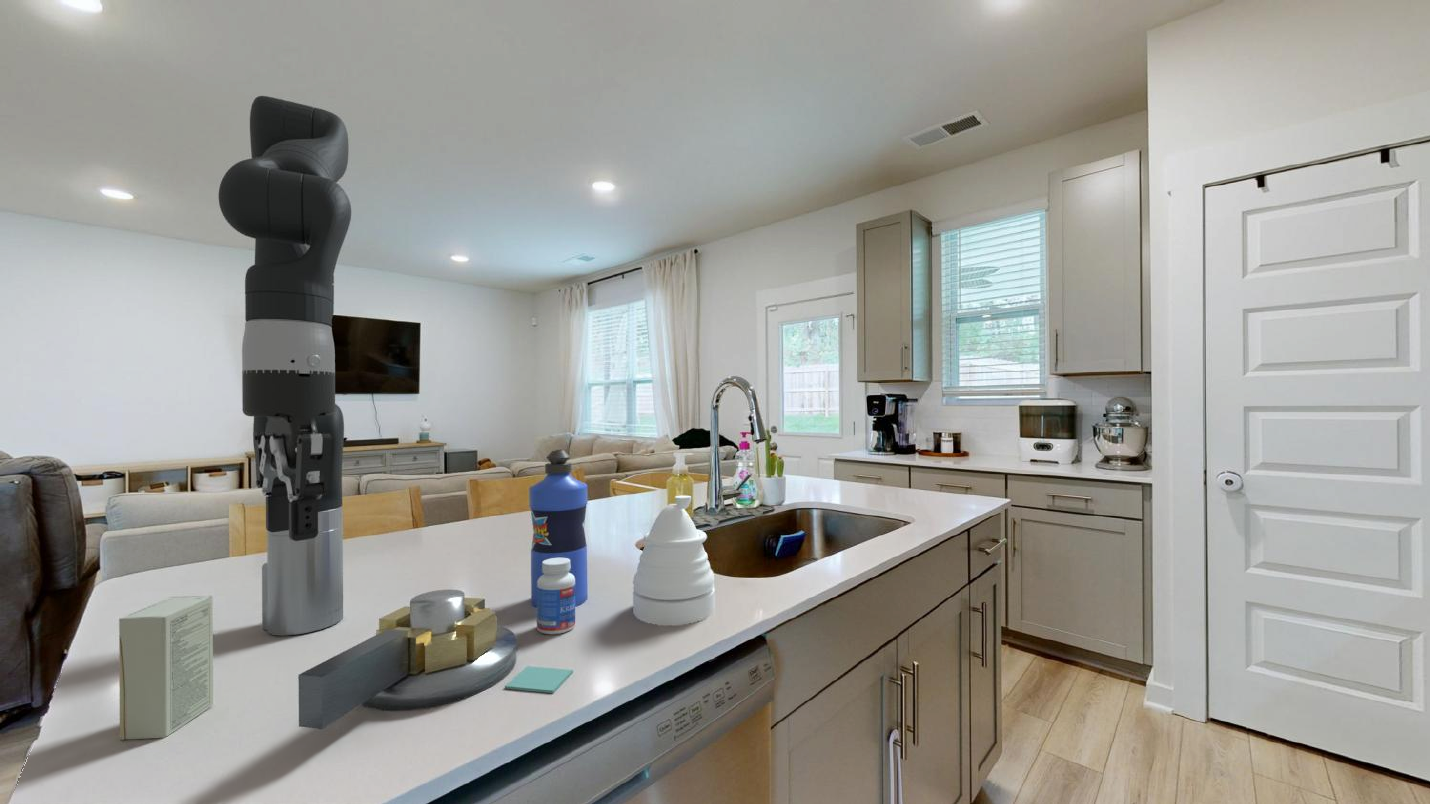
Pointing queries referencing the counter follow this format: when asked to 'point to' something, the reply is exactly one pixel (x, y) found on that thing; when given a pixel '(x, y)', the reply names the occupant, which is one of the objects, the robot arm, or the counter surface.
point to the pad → (539, 679)
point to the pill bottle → (556, 597)
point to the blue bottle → (559, 523)
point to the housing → (452, 682)
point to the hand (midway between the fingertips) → (291, 534)
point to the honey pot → (674, 571)
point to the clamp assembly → (390, 662)
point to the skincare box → (165, 666)
